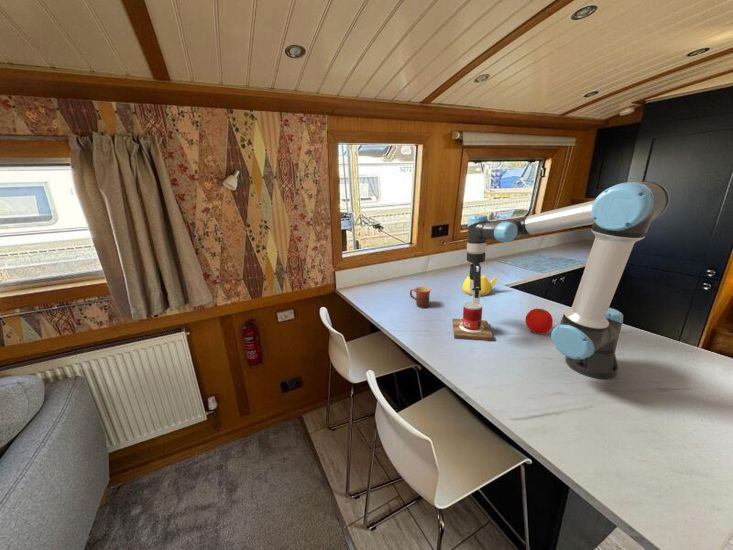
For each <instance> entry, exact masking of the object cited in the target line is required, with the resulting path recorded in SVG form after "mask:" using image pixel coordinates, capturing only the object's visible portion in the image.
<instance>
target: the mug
mask: <svg viewBox="0 0 733 550" xmlns="http://www.w3.org/2000/svg"><path fill="white" fill-rule="evenodd" d="M413 291H414V293H415V295H416V296H414V295H413V293H412V292H413ZM431 291H432V289H431V288H430V287H429V286H428V287H427V286H417V287H415V288H411V289H410V290H409V296H410V297H411V299H412V300H414V301H415V303H416V306H417V307H418V308H420V307H423V308H422V309H425V308H424V307H426V308H428V307H430V293H431Z"/></svg>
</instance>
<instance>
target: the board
mask: <svg viewBox="0 0 733 550" xmlns="http://www.w3.org/2000/svg"><path fill="white" fill-rule="evenodd" d="M452 331H453V338H454V339H455V340H471V341H484V342H493V341H494V336H493V333H492V331H491V328H490V325H489V322H488V320H482V319H481V327H480V329H478V330H468V329H466V328H464V327H463V318H452Z"/></svg>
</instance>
